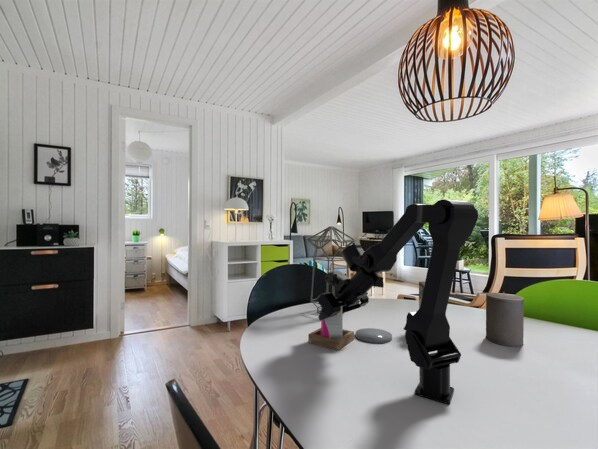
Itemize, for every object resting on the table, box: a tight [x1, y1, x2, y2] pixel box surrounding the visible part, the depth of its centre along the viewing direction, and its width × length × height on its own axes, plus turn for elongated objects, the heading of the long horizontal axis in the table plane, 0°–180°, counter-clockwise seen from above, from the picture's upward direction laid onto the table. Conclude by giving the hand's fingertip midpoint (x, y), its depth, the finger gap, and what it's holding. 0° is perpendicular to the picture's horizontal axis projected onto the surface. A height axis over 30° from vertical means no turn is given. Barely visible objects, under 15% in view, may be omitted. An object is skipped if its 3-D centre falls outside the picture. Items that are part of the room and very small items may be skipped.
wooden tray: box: [307, 327, 355, 351], centre depth 91 cm, size 10×10×2 cm
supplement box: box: [320, 306, 343, 339], centre depth 91 cm, size 6×6×12 cm
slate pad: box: [355, 327, 393, 344], centre depth 95 cm, size 11×11×1 cm
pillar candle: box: [485, 291, 525, 348], centre depth 93 cm, size 10×10×15 cm
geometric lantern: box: [306, 226, 357, 315], centre depth 123 cm, size 16×16×35 cm
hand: (328, 316), depth 92 cm, fingers closed on supplement box, 8 cm apart
